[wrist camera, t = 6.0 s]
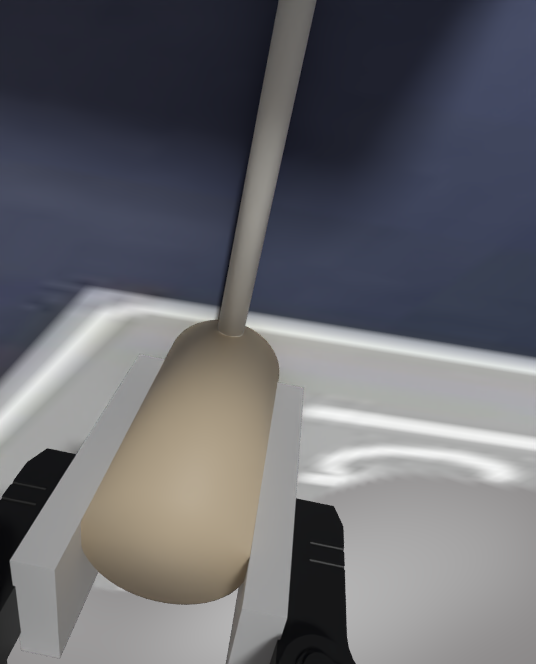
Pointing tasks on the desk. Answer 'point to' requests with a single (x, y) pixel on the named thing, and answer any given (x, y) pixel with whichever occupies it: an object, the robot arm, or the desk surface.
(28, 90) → the desk surface
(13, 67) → the desk surface
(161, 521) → the tan maraca
